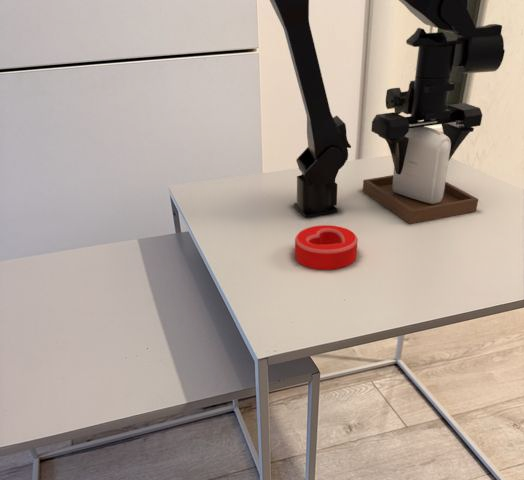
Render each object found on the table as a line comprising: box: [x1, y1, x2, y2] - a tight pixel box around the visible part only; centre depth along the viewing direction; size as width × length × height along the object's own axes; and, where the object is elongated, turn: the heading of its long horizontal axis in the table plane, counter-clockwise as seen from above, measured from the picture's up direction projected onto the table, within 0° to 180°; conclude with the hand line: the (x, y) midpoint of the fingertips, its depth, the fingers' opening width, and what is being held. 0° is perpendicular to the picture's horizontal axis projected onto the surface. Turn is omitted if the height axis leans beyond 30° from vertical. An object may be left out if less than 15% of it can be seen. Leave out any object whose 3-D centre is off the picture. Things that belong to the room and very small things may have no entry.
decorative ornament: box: [294, 224, 359, 271], centre depth 84 cm, size 10×10×3 cm
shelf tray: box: [362, 174, 479, 225], centre depth 101 cm, size 14×18×2 cm
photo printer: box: [392, 126, 451, 204], centre depth 97 cm, size 10×4×12 cm, turn 37°
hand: (420, 170), depth 98 cm, fingers open, 9 cm apart
